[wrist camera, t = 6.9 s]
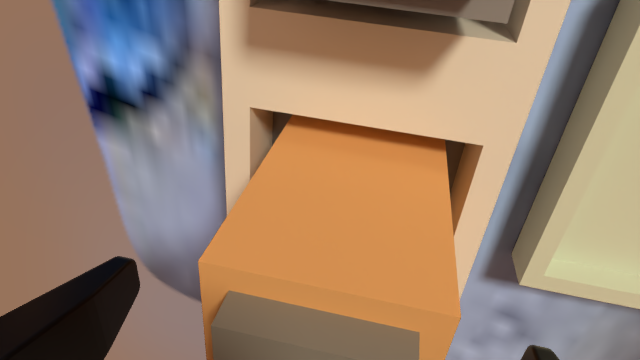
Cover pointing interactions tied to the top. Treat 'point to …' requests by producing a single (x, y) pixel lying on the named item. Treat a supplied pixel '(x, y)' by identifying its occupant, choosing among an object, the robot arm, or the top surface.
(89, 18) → the top surface
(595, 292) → the tray
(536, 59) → the cream slotted rack
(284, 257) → the plug
